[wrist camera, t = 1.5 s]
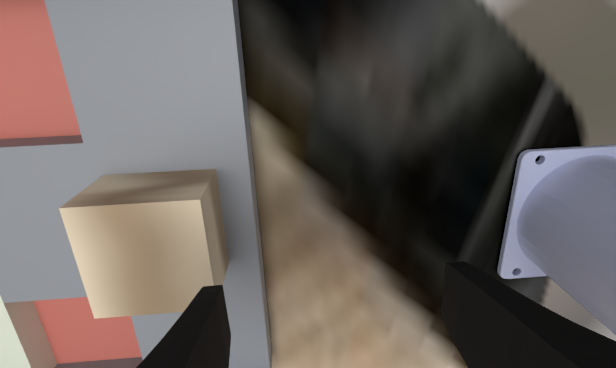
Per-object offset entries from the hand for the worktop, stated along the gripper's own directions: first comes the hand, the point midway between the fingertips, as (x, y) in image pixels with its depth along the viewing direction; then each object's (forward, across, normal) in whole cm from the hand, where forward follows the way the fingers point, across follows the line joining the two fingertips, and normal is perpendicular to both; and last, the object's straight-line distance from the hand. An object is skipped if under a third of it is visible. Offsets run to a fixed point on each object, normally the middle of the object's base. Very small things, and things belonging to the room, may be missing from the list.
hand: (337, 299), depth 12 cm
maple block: (+7, +7, 0) cm, 10 cm away
